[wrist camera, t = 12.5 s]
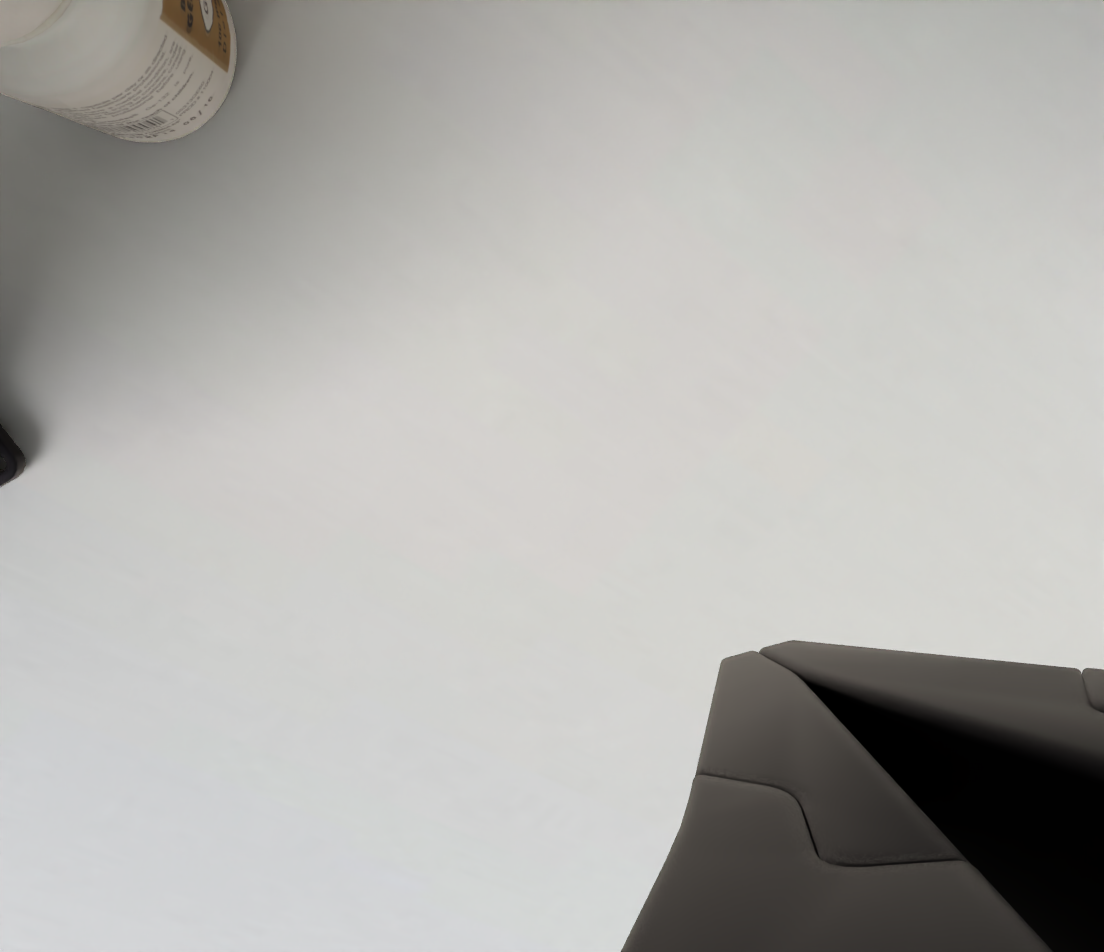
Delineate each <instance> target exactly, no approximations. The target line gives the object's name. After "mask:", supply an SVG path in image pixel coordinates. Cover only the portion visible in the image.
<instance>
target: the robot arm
mask: <svg viewBox="0 0 1104 952" xmlns="http://www.w3.org/2000/svg"><path fill="white" fill-rule="evenodd" d="M0 456H1V457H2V458H3V459H4V460H5V462H6V470H3V469H0V487H2V486H3V485H5V484H7V483H8V482H10V481H12V480H14V479H15V478H17V477H18V476H19V475H21V474H22V473H23V471H24V469H25V466H26V462H25V457H24V455H23V453H22V451H21V450H20V448H19V447H18V446H17V445H16V443H15V442H14V441H13V439H12V438H11V437H10V436H9V434H8V433H7V432H6V431H5V429H4V428H3V427H2V426H1V424H0ZM621 952H1104V670H1102V669H1092V668H1086V669H1084V670H1083V672H1082V674H1081V672H1080V670H1078V669H1075V668H1066V667H1056V666H1046V665H1036V664H1026V663H1016V662H1006V661H996V660H986V659H976V658H966V657H956V656H946V655H936V654H926V653H916V652H906V651H895V650H885V649H875V648H865V647H855V646H845V645H835V644H825V643H815V642H805V641H795V640H792V641H787V642H783V643H779V644H775V645H771V646H768V647H764V648H762V649H761V650H760V651H759V653H758V652H755V651H749V652H746V653H742V654H738V655H735V656H731V657H728V658H725V659H723V660H722V661H721V664H720V669H719V673H718V677H717V682H716V686H715V691H714V695H713V700H712V704H711V708H710V713H709V717H708V722H707V726H706V731H705V735H704V739H703V744H702V748H701V753H700V757H699V762H698V766H697V770H696V775H695V778H694V780H693V783H692V788H691V792H690V797H689V800H688V804H687V807H686V810H685V814H684V817H683V820H682V823H681V827H680V829H679V832H678V834H677V836H676V838H675V841H674V843H673V845H672V847H671V850H670V852H669V854H668V856H667V859H666V861H665V863H664V865H663V867H662V869H661V871H660V873H659V875H658V877H657V879H656V881H655V883H654V885H653V887H652V890H651V892H650V894H649V896H648V898H647V900H646V902H645V904H644V906H643V908H642V910H641V912H640V914H639V916H638V918H637V920H636V922H635V924H634V926H633V928H632V930H631V932H630V934H629V936H628V938H627V940H626V942H625V944H624V946H623V948H622V950H621Z"/></svg>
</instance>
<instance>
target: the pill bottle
mask: <svg viewBox="0 0 1104 952" xmlns="http://www.w3.org/2000/svg"><path fill="white" fill-rule="evenodd" d="M236 57H237V51H236V35H235V29H234V24H233V20H232V17H231V14H230V11H229V8H228V6H227V4H226V2H225V0H0V93H1V94H3V95H6V96H8V97H11V98H13V99H16V100H19V101H22V102H24V103H27V104H30V105H33V106H35V107H38V108H41V109H44V110H46V111H49V112H52V113H54V114H57V115H59V116H62V117H65V118H67V119H70V120H72V121H74V122H77V123H80V124H82V125H85V126H87V127H90V128H93V129H95V130H98V131H101V132H103V133H106V134H109V135H111V136H114V137H118V138H121V139H124V140H128V141H134V142H145V143H156V142H165V141H171V140H175V139H179V138H182V137H184V136H186V135H189V134H191V133H192V132H194V131H196V130H197V129H198V128H200V127H201V126H202V125H204V124H205V123H206V122H207V121H208V120H209V119H210V118H211V117H212V116H213V115H214V114H215V113H216V112H217V111H218V109H219V108H220V106H221V105H222V103H223V102H224V100H225V98H226V96H227V94H228V92H229V89H230V86H231V83H232V80H233V77H234V73H235V67H236Z"/></svg>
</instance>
